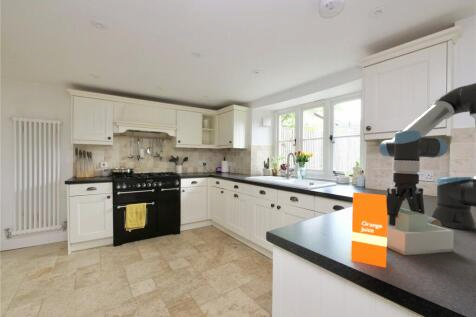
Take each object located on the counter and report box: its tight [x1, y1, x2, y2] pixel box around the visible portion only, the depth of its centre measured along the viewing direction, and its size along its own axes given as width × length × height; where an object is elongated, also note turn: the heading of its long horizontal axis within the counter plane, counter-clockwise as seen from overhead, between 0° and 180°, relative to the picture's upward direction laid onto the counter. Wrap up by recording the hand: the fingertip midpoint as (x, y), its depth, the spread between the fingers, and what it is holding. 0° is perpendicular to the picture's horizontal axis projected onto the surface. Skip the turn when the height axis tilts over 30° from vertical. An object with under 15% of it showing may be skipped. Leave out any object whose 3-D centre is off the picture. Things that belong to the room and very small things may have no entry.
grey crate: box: [387, 223, 455, 256], centre depth 80 cm, size 20×18×7 cm
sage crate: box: [387, 207, 429, 232], centre depth 80 cm, size 8×10×9 cm
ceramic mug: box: [427, 216, 443, 228], centre depth 91 cm, size 11×8×8 cm
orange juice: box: [350, 192, 388, 268], centre depth 66 cm, size 8×9×20 cm
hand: (403, 233), depth 80 cm, fingers closed on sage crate, 8 cm apart
